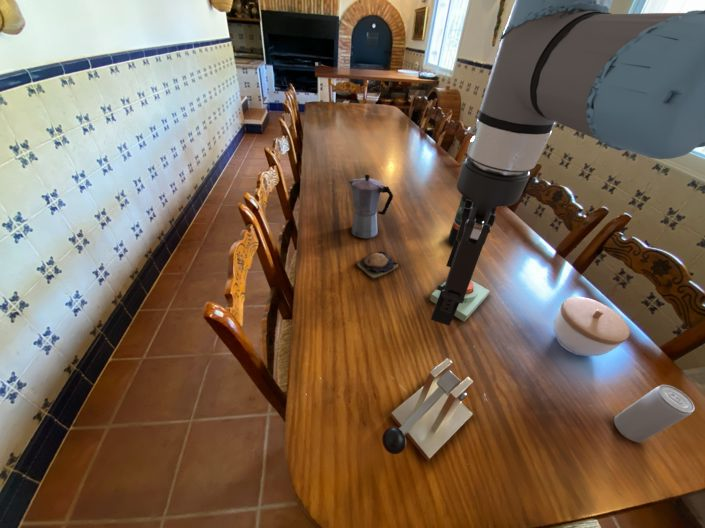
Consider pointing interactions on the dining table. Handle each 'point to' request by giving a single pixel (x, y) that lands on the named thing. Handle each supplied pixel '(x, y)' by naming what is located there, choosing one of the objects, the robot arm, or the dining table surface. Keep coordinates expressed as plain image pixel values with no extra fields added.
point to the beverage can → (653, 413)
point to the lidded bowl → (589, 327)
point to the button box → (466, 301)
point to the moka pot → (367, 205)
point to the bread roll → (377, 264)
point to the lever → (418, 415)
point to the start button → (470, 288)
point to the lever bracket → (435, 413)
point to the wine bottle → (456, 222)
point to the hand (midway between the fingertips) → (447, 291)
